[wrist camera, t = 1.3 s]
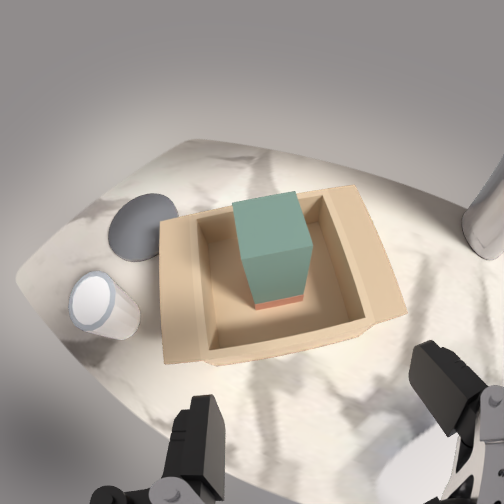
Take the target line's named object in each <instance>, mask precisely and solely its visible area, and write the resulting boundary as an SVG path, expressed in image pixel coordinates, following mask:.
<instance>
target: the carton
mask: <svg viewBox="0 0 504 504" xmlns="http://www.w3.org/2000/svg"><path fill="white" fill-rule="evenodd" d="M296 195H297V198H298V201H299V204H300V207H301V210H302V212H303V215H304V218H305V221H306V225H307V228H308V231H309V234H310V237H311V240H312V243H313V249H312V255H311V260H310V265H309V270H308V275H307V280H306V285H305V290H304V297H303V301H301V302H296V303H291V304H286V305H282V306H277V307H272V308H267V309H261V310H256V308H255V305H254V300H253V297H252V293H251V290H250V287H249V284H248V280H247V277H246V274H245V271H244V267H243V264H242V261H241V255H240V249H239V243H238V237H237V231H236V225H235V219H234V212H233V206H228V207H223V208H218V209H213V210H209V211H204V212H199V213H195V214H190V215H186V216H182V217H177V218H173V219H169V220H165V221H160V239H159V283H160V313H161V331H162V345H163V357H164V364H165V365H166V364H177V363H187V362H196V361H204V362H206V363H209V364H212V365H214V366H223V365H230V364H236V363H243V362H249V361H255V360H261V359H266V358H271V357H277V356H282V355H287V354H291V353H296V352H301V351H305V350H309V349H314V348H318V347H322V346H326V345H330V344H334V343H337V342H341V341H345V340H349V339H352V338H356V337H359V336H360V335H362V334H363V333H364V332H366V331H367V330H368V329H369V328H371V327H372V326H373V325H375V324H378V323H381V322H384V321H387V320H390V319H393V318H396V317H399V316H402V315H405V314H407V313H408V312H407V309H406V306H405V303H404V300H403V297H402V294H401V291H400V288H399V286H398V283H397V280H396V277H395V275H394V272H393V269H392V267H391V264H390V262H389V259H388V257H387V254H386V252H385V249H384V247H383V244H382V242H381V240H380V237H379V235H378V233H377V230H376V228H375V226H374V224H373V221H372V219H371V217H370V215H369V213H368V211H367V209H366V206H365V204H364V202H363V200H362V198H361V196H360V194H359V192H358V190H357V188H356V186H355V185H349V186H342V187H335V188H328V189H322V190H315V191H309V192H303V193H297V194H296Z"/></svg>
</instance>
